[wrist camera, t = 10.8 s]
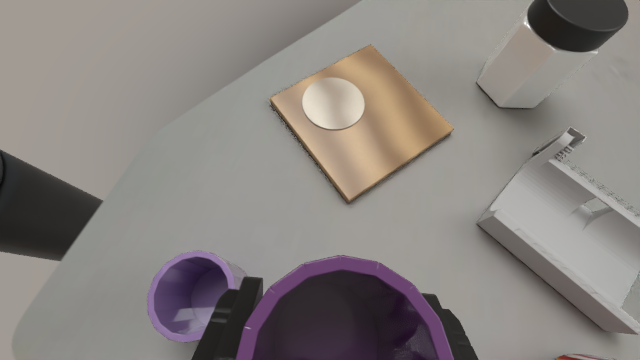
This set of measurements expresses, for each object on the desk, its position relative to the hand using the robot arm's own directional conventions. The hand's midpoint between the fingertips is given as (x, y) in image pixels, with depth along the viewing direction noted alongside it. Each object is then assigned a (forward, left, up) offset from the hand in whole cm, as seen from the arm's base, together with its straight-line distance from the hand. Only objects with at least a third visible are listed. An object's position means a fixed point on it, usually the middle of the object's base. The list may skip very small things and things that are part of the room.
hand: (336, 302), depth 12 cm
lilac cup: (-7, +6, -18) cm, 20 cm away
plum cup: (-1, -1, -4) cm, 5 cm away
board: (+16, +14, -18) cm, 28 cm away
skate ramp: (+26, -10, -18) cm, 34 cm away
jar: (+36, +7, -18) cm, 41 cm away
